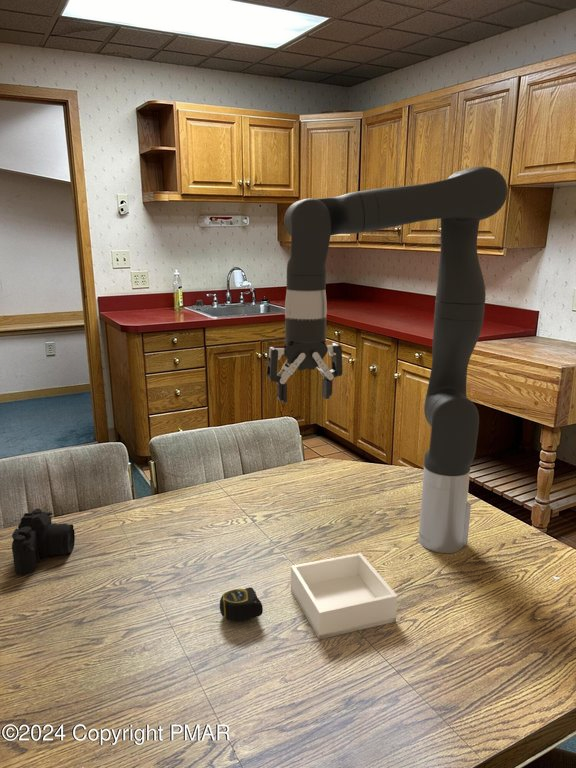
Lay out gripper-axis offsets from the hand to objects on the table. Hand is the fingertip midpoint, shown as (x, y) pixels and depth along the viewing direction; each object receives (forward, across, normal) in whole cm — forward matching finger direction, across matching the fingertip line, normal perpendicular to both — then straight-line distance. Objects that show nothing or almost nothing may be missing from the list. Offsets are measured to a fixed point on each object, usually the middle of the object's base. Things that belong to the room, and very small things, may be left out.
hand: (304, 400), depth 107 cm
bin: (+33, -1, +17) cm, 37 cm away
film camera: (+34, +49, -17) cm, 62 cm away
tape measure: (+33, +14, +16) cm, 39 cm away
